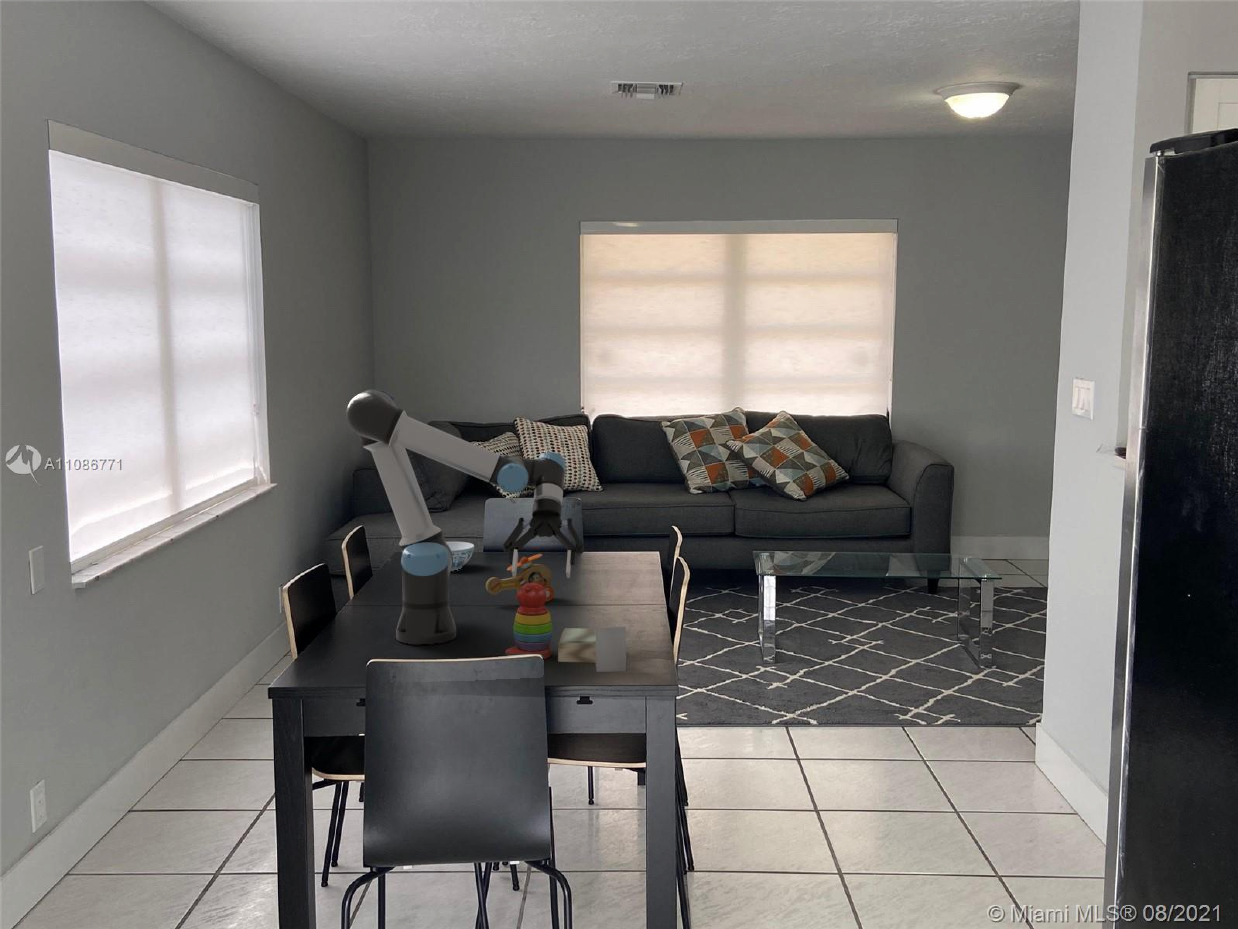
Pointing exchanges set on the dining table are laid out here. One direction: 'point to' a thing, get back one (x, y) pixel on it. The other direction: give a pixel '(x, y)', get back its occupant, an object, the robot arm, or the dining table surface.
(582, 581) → the dining table surface
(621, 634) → the white printed cardboard box
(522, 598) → the stacking bear
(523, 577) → the toy helicopter
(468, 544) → the chinaware
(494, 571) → the dining table surface
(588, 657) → the base block
